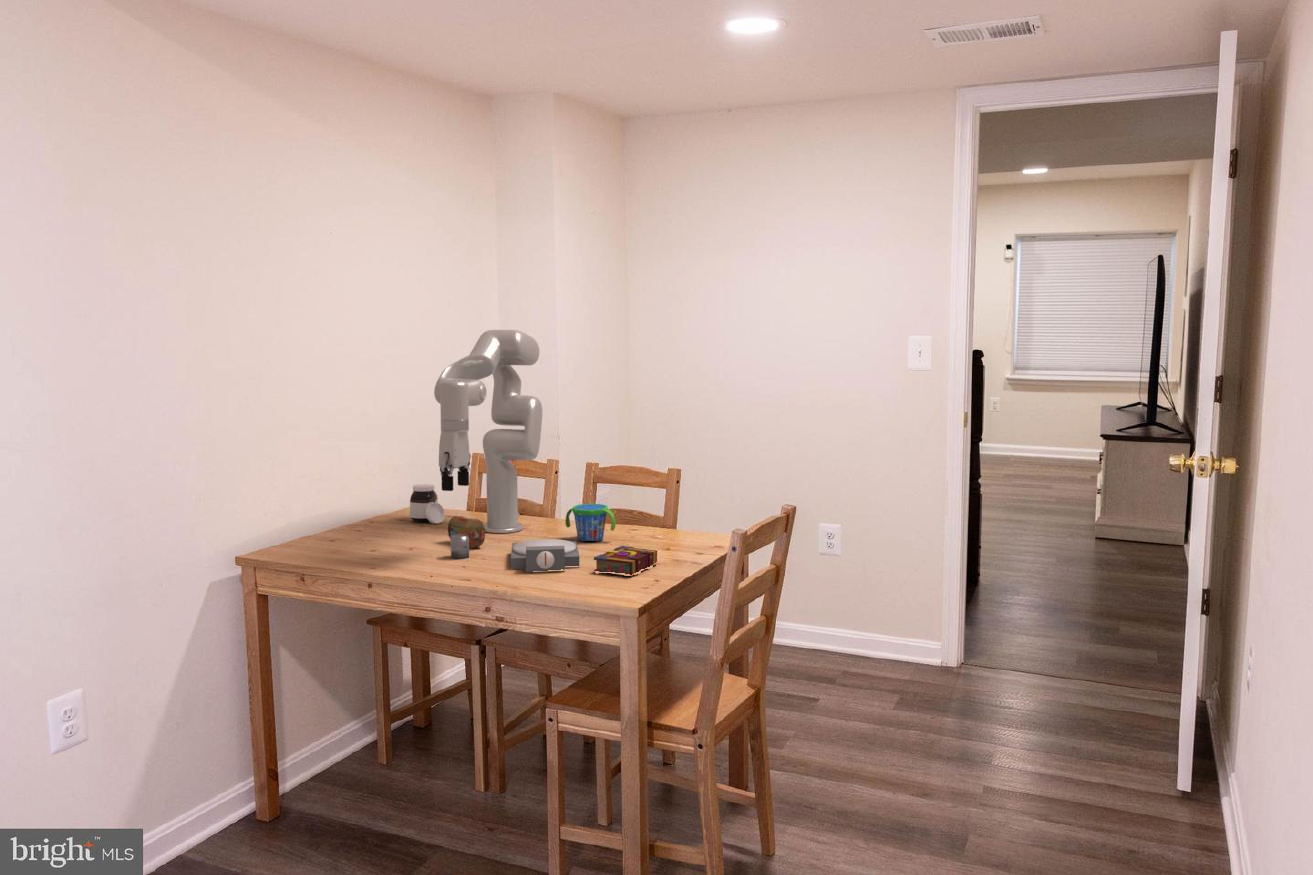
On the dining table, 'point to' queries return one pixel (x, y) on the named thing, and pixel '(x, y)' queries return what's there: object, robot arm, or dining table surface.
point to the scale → (544, 555)
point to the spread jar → (425, 505)
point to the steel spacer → (459, 546)
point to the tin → (468, 529)
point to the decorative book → (625, 560)
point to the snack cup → (590, 521)
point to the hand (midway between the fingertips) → (455, 488)
